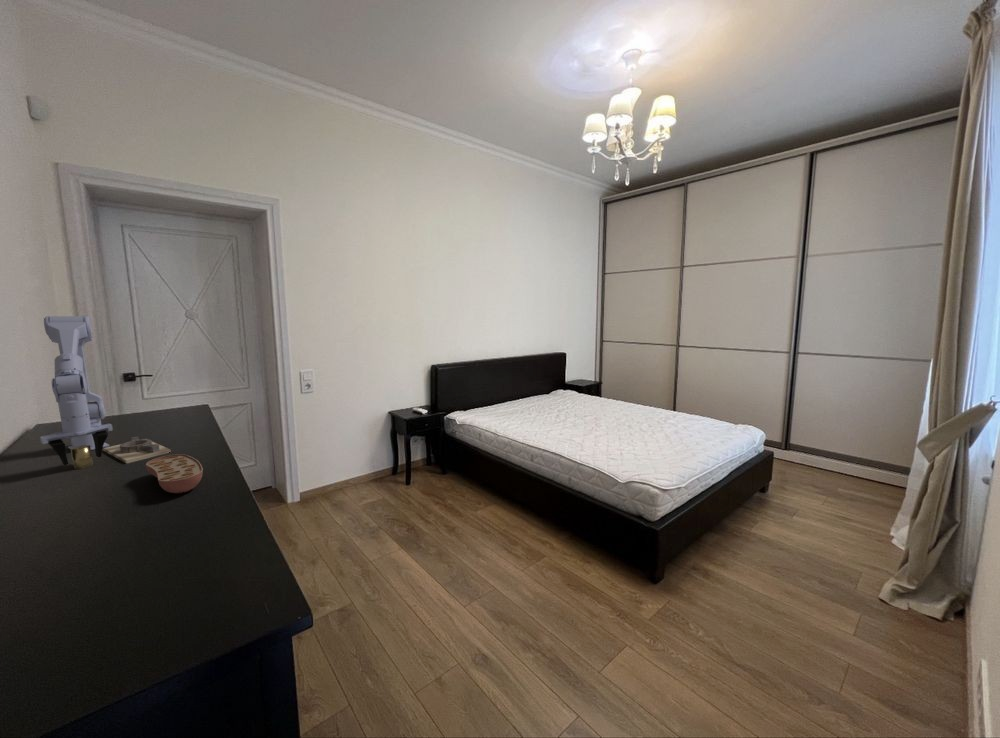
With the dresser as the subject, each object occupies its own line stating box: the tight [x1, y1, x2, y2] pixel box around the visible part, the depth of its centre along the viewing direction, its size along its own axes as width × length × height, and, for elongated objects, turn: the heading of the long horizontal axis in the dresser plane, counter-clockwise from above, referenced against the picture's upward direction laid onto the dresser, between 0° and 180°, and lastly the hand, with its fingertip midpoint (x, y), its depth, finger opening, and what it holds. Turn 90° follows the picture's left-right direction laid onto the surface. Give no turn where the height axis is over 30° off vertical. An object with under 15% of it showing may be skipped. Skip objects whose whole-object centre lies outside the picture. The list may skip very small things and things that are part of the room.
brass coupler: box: [70, 445, 94, 470], centre depth 118 cm, size 4×4×6 cm
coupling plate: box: [103, 436, 171, 464], centre depth 130 cm, size 20×11×3 cm, turn 59°
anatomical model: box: [145, 453, 204, 494], centre depth 108 cm, size 23×10×5 cm, turn 50°
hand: (82, 460), depth 118 cm, fingers open, 6 cm apart
